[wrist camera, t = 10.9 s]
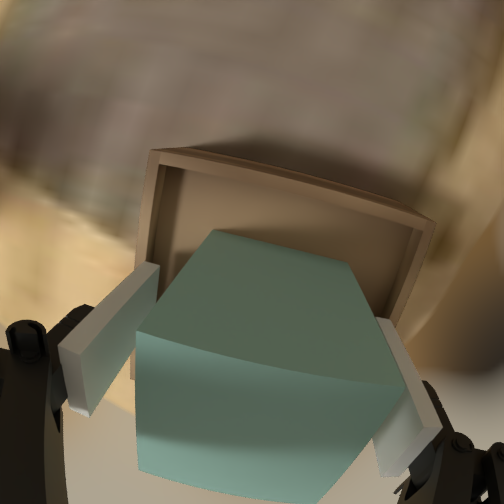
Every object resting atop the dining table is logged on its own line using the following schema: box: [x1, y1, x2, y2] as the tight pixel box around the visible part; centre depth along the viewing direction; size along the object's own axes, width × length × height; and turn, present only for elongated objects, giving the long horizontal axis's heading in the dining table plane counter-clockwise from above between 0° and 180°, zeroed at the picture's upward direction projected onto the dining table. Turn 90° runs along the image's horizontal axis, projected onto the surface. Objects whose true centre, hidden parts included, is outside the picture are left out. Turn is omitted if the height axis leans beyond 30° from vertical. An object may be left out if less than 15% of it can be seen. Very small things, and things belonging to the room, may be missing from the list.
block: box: [135, 230, 406, 504], centre depth 11 cm, size 6×6×8 cm
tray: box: [130, 147, 436, 380], centre depth 16 cm, size 12×12×5 cm
